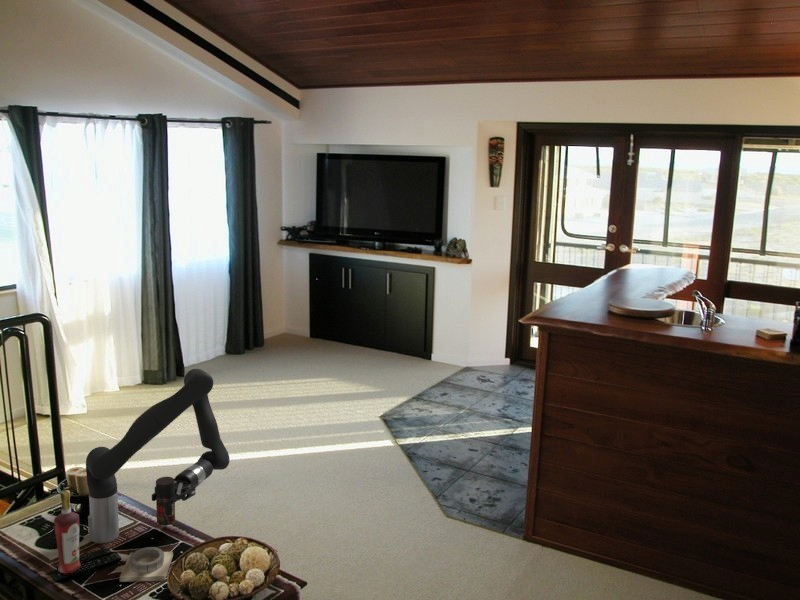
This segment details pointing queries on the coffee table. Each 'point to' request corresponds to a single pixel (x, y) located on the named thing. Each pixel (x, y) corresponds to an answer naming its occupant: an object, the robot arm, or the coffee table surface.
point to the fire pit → (147, 565)
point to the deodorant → (165, 501)
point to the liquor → (67, 536)
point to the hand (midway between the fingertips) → (161, 500)
